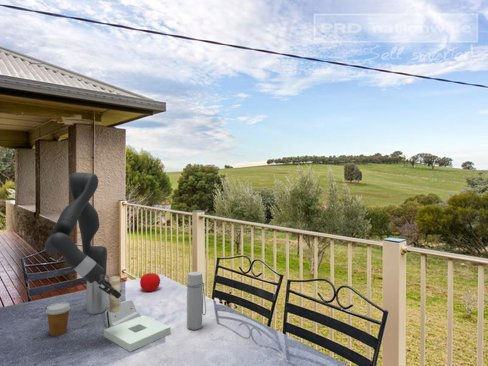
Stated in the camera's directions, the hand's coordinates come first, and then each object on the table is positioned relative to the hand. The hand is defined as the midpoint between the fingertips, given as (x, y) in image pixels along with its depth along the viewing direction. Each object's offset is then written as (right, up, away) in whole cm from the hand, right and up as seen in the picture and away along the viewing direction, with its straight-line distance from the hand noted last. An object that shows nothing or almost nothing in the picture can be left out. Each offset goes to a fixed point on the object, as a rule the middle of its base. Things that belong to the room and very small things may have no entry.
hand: (119, 294), depth 141 cm
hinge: (-6, -19, +17) cm, 26 cm away
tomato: (-5, -18, +62) cm, 65 cm away
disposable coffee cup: (-29, -19, +5) cm, 35 cm away
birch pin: (-2, -6, -1) cm, 7 cm away
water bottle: (+31, -19, +12) cm, 38 cm away
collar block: (+7, -19, +3) cm, 20 cm away
